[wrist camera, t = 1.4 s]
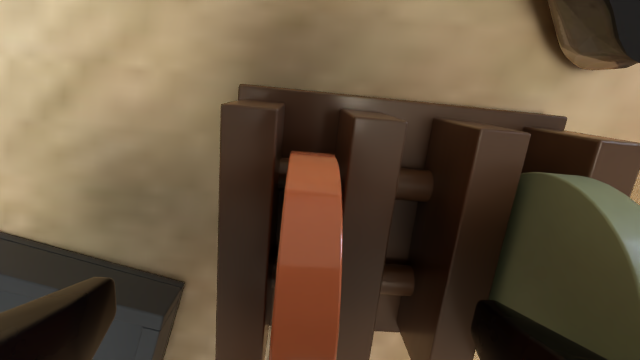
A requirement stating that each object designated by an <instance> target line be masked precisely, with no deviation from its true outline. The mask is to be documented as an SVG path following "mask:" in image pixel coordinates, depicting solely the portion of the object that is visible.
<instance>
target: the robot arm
mask: <svg viewBox="0 0 640 360" xmlns="http://www.w3.org/2000/svg"><path fill="white" fill-rule="evenodd" d="M115 314H116V292H115V282H114V280H113V279H112V278H106V277H92V278H90V279H87V280H85V281H82V282H79V283H77V284H74V285H72V286H69V287H66V288H64V289H61V290H59V291H56V292H53V293H51V294H48V295H46V296H43V297H40V298H38V299H35V300H33V301H30V302H27V303H25V304H22V305H20V306H17V307H14V308H12V309H9V310H7V311H4V312H1V313H0V360H92V359H93V357H94V355H95V353H96V351H97V350H98V348H99V346H100V344H101V342H102V340H103V338H104V336H105V335H106V333H107V331H108V329H109V327H110V325H111V323H112V322H113V320H114V317H115ZM471 336H472V339H473V342H474V344H475V347H476V349H477V352H478V354H479V357H480V359H481V360H608V359H606V358H604V357H602V356H600V355H598V354H596V353H595V352H593V351H591V350H589V349H587V348H585V347H583V346H581V345H579V344H577V343H576V342H574V341H572V340H570V339H568V338H566V337H564V336H562V335H560V334H558V333H557V332H555V331H553V330H551V329H549V328H547V327H545V326H543V325H541V324H539V323H538V322H536V321H534V320H532V319H530V318H528V317H526V316H524V315H522V314H520V313H519V312H517V311H515V310H513V309H511V308H509V307H507V306H505V305H503V304H501V303H500V302H498V301H495V300H479V301H478V302H477V304H476V307H475V311H474V315H473V319H472V324H471Z"/></svg>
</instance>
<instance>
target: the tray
mask: <svg viewBox="0 0 640 360" xmlns="http://www.w3.org/2000/svg"><path fill="white" fill-rule="evenodd" d="M92 277H106V278H112V279H113V280H114V282H115V292H116V314H115V317H114V320H113V322H112V323H111V325H110V327H109V329H108V331H107V333H106V335H105V336H104V338H103V340H102V342H101V344H100V346H99V348H98V350H97V351H96V353H95V355H94V357H93V359H92V360H163V357H164V354H165V350H166V347H167V343H168V340H169V336H170V333H171V329H172V326H173V322H174V319H175V315H176V312H177V309H178V305H179V302H180V298H181V295H182V291H183V288H184V284H185V283H184V282H180V281H177V280H173V279H169V278H166V277H162V276H158V275H155V274H151V273H147V272H144V271H140V270H136V269H133V268H129V267H126V266H122V265H118V264H115V263H111V262H107V261H104V260H100V259H96V258H93V257H89V256H85V255H82V254H78V253H74V252H71V251H67V250H64V249H60V248H56V247H53V246H49V245H45V244H42V243H38V242H34V241H31V240H27V239H23V238H20V237H16V236H13V235H9V234H5V233H2V232H0V313H1V312H4V311H7V310H9V309H12V308H14V307H17V306H20V305H22V304H25V303H27V302H30V301H33V300H35V299H38V298H40V297H43V296H46V295H48V294H51V293H53V292H56V291H59V290H61V289H64V288H66V287H69V286H72V285H74V284H77V283H79V282H82V281H85V280H87V279H90V278H92Z"/></svg>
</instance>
